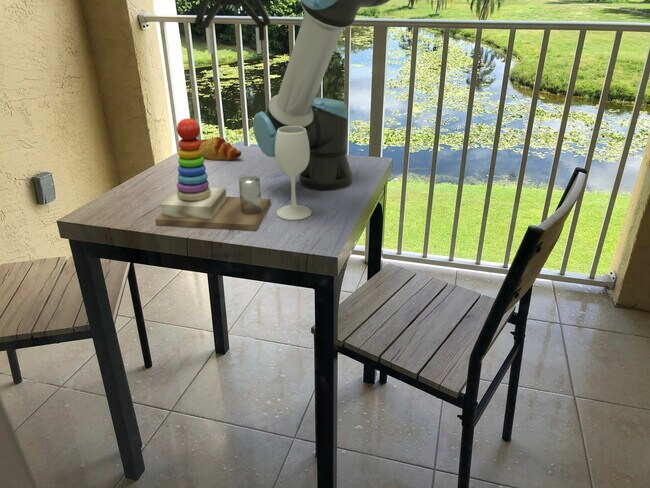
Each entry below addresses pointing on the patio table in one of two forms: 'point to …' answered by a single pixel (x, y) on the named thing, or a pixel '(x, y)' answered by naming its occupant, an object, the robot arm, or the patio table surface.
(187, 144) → the stacking toy
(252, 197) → the grey brown short cylinder
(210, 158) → the croissant
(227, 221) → the board
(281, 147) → the wineglass
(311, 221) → the patio table surface
